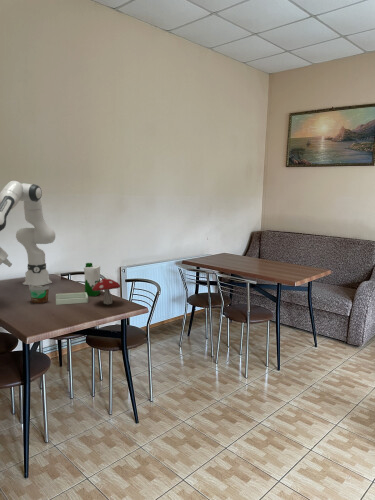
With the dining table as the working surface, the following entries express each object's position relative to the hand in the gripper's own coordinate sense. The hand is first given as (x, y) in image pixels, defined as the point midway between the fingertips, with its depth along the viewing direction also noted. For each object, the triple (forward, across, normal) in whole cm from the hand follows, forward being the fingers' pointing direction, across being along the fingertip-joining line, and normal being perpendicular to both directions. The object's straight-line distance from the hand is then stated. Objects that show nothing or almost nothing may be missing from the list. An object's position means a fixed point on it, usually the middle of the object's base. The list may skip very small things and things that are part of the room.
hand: (11, 265), depth 215 cm
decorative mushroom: (+52, -12, -20) cm, 57 cm away
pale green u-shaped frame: (+38, 0, -7) cm, 39 cm away
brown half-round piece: (+25, 0, +6) cm, 26 cm away
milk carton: (+48, +10, -16) cm, 52 cm away
